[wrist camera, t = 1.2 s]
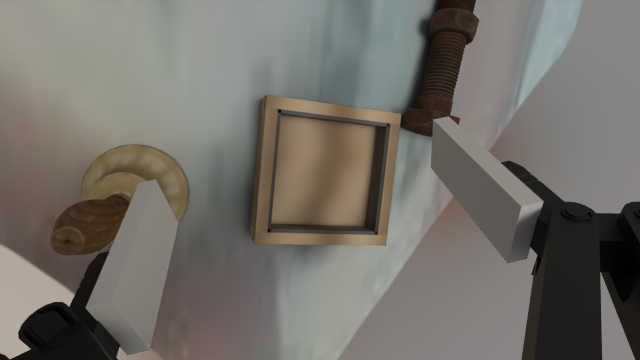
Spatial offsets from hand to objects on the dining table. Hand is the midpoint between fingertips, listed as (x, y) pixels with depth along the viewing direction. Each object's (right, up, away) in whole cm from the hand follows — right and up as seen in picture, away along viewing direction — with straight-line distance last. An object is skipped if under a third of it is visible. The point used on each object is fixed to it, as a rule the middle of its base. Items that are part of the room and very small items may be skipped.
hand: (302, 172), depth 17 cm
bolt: (+13, +12, +21) cm, 27 cm away
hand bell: (-15, -1, +14) cm, 20 cm away
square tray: (+1, 0, +18) cm, 18 cm away
